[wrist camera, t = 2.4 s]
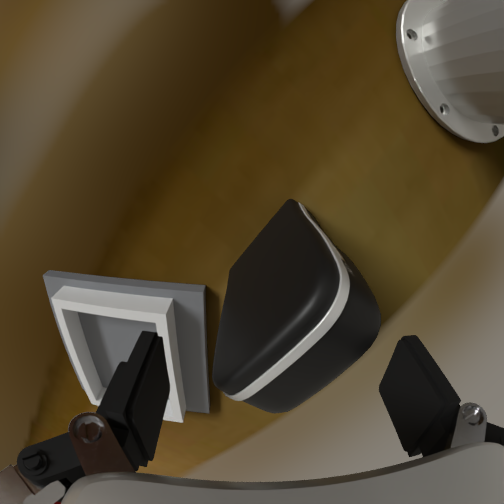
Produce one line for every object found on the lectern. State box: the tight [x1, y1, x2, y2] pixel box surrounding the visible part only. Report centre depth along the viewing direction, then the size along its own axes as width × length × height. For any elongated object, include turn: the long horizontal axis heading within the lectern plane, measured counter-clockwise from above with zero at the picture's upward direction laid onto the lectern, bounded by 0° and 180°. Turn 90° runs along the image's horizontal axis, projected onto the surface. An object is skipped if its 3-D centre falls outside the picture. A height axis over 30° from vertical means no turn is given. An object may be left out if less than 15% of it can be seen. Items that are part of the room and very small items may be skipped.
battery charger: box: [212, 199, 381, 413], centre depth 14 cm, size 7×4×11 cm, turn 142°
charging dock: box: [43, 270, 210, 423], centre depth 22 cm, size 14×14×3 cm
